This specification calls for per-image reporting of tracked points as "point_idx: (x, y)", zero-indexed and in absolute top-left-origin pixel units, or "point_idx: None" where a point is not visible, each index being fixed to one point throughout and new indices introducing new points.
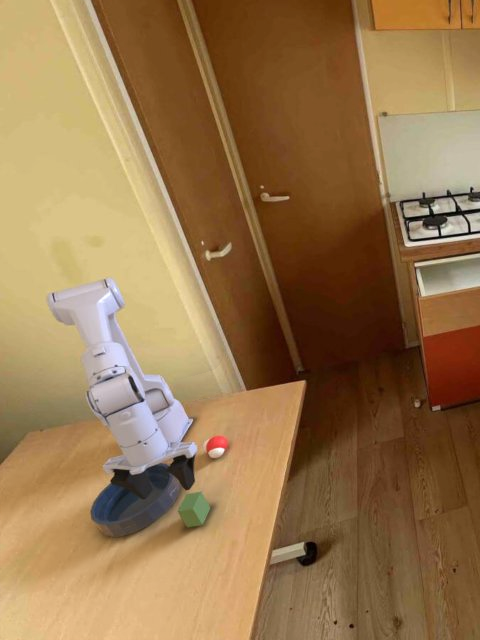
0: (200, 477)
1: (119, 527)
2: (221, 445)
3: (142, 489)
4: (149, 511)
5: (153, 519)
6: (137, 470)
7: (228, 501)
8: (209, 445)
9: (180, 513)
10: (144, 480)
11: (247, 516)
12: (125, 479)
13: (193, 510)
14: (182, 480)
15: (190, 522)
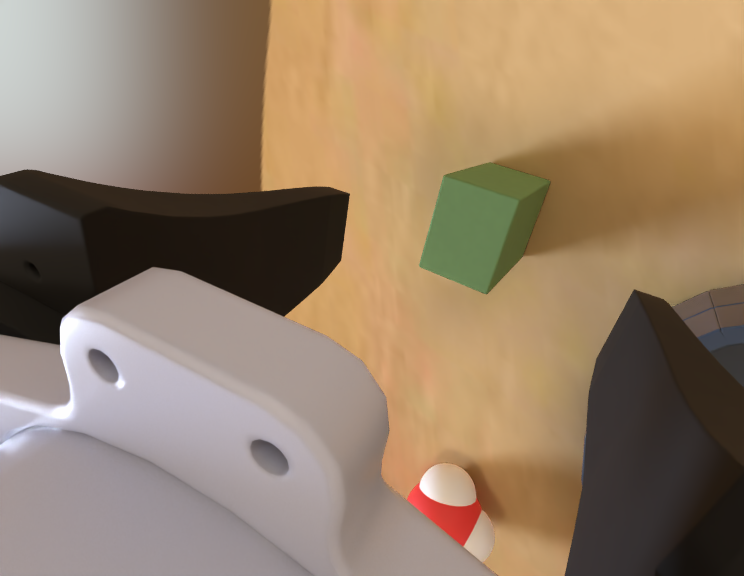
0: (517, 417)
1: None
2: (414, 498)
3: (629, 355)
4: (706, 322)
5: (704, 296)
6: (114, 337)
7: (404, 231)
8: (448, 529)
9: (517, 193)
10: (601, 433)
11: (335, 122)
12: (713, 488)
13: (450, 173)
14: (249, 196)
15: (518, 177)
